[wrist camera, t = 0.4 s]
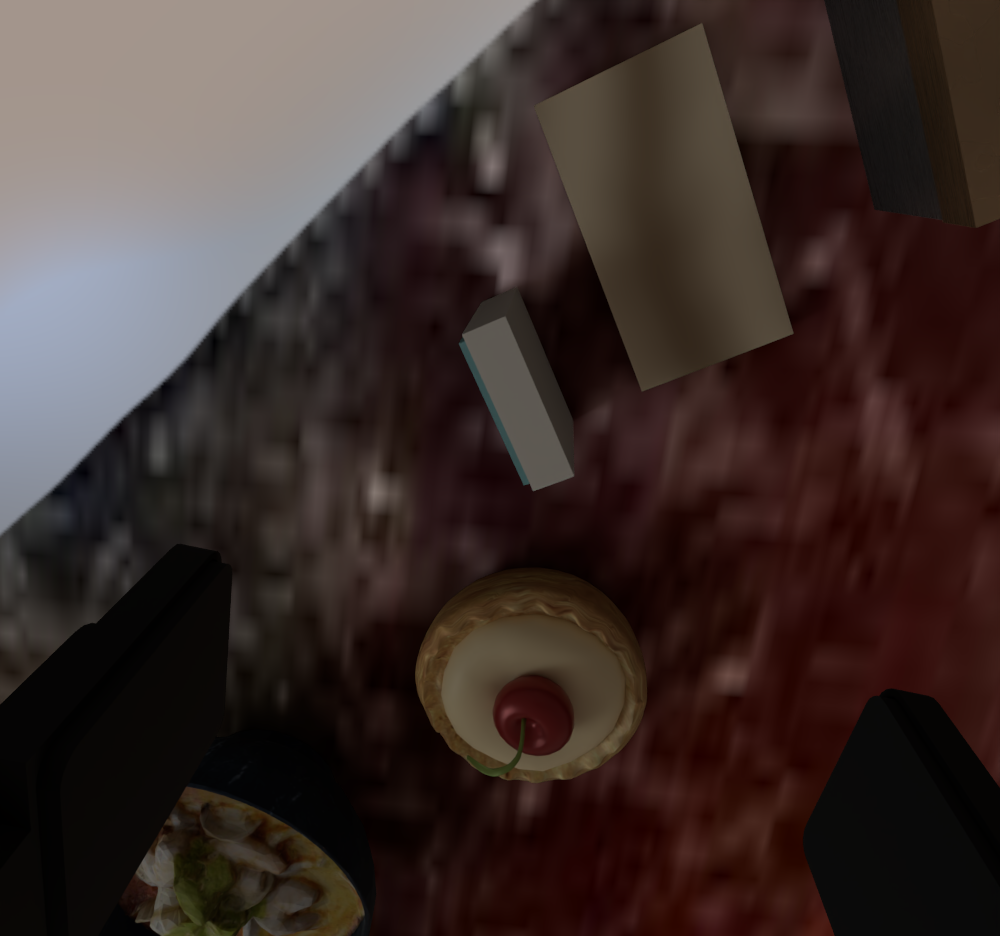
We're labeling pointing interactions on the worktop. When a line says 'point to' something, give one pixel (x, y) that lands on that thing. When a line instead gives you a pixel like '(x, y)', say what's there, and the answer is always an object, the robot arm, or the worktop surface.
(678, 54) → the board
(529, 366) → the tile
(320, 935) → the bowl
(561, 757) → the pastry
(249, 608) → the worktop surface
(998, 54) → the brown rectangular block
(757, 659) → the worktop surface
